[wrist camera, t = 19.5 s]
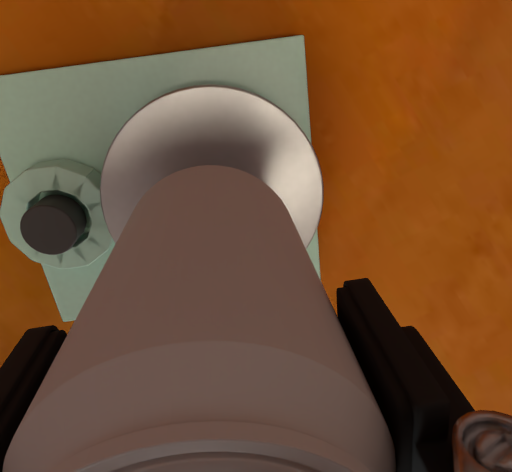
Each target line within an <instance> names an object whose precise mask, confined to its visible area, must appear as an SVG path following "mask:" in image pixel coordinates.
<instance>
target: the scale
mask: <svg viewBox="0 0 512 472" xmlns="http://www.w3.org/2000/svg"><path fill="white" fill-rule="evenodd" d="M204 84H217V85H228V86H233V87H237V88H242V89H245V90H248V91H250V92H253V93H256V94H258V95H260V96H262V97H264V98H266V99H268V100H269V101H271V102H272V103H274V104H275V105H277V106H278V107H279V108H281V109H282V110H283V111H285V112H286V113H287V114H288V115H289V116H290V117H291V118H292V119H293V120H294V121H295V122H296V123H297V124H298V126H299V127H300V128H301V129H302V130H303V132H304V133H305V134H306V136H307V138H308V140H309V141H310V143H311V131H310V116H309V102H308V87H307V72H306V58H305V43H304V35H297V36H290V37H283V38H275V39H268V40H260V41H253V42H245V43H238V44H231V45H223V46H216V47H208V48H201V49H193V50H186V51H179V52H171V53H164V54H156V55H149V56H141V57H134V58H127V59H119V60H112V61H104V62H97V63H89V64H82V65H75V66H67V67H60V68H52V69H45V70H37V71H30V72H23V73H15V74H8V75H0V157H1V159H2V162H3V165H4V167H5V170H6V173H7V175H8V178H9V180H10V184H9V185H7V186H6V187H5V189H4V193H3V198H2V203H1V208H0V218H1V220H2V223H3V225H4V228H5V230H6V233H7V235H8V238H9V240H10V241H11V243H13V244H14V245H15V246H16V247H17V248H18V249H19V250H21V251H22V252H23V253H24V254H25V255H26V256H28V257H29V258H30V259H31V260H33V261H35V262H38V263H41V265H42V267H43V270H44V273H45V275H46V278H47V281H48V283H49V286H50V289H51V291H52V294H53V296H54V299H55V302H56V304H57V307H58V310H59V312H60V315H61V318H62V320H63V322H67V321H73V320H76V318H77V316H78V314H79V312H80V310H81V308H82V306H83V305H84V303H85V301H86V299H87V297H88V295H89V293H90V291H91V290H92V288H93V286H94V284H95V282H96V280H97V278H98V276H99V274H100V273H101V271H102V269H103V267H104V265H105V263H106V261H107V259H108V258H109V256H110V254H111V252H112V250H113V248H114V246H115V242H114V240H113V238H112V236H111V234H110V233H109V230H108V228H107V225H106V222H105V220H104V216H103V211H102V207H101V197H100V182H101V173H102V168H103V164H104V160H105V157H106V155H107V152H108V149H109V147H110V145H111V143H112V142H113V140H114V138H115V136H116V134H117V133H118V132H119V130H120V129H121V128H122V126H123V125H124V124H125V122H127V121H128V120H129V119H130V118H131V117H132V116H133V115H134V114H135V113H136V112H137V111H138V110H139V109H141V108H142V107H144V106H145V105H146V104H148V103H149V102H150V101H152V100H154V99H156V98H158V97H160V96H161V95H163V94H165V93H168V92H171V91H174V90H176V89H179V88H184V87H188V86H193V85H204ZM54 194H57V195H64V196H67V197H70V198H72V199H73V200H75V201H76V202H77V203H78V204H79V205H80V206H81V207H82V209H83V210H84V212H85V215H86V221H87V222H86V228H85V230H84V232H83V233H82V235H81V236H80V237H79V239H78V240H77V241H76V243H75V244H74V245H73V247H72V248H71V249H69V250H68V251H66V252H64V253H62V254H57V255H48V254H43V253H40V252H38V251H36V250H34V249H33V248H31V247H30V246H29V245H28V244H27V243H26V242H25V240H24V239H23V237H22V234H21V231H20V222H21V218H22V216H23V215H24V213H25V212H26V211H27V210H28V209H30V208H31V207H32V206H33V205H34V204H36V203H37V202H38V201H39V200H41V199H42V198H44V197H46V196H48V195H54ZM306 250H307V252H308V255H309V257H310V259H311V261H312V263H313V265H314V268H315V270H316V272H317V274H318V276H319V278H320V281H321V277H320V262H319V248H318V233H317V229H316V232H315V234H314V236H313V239H312V240H311V242H310V244H309V245H308V247H307V249H306Z"/></svg>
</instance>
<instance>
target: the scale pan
mask: <svg viewBox="0 0 512 472" xmlns="http://www.w3.org/2000/svg"><path fill="white" fill-rule="evenodd" d="M204 165H218V166H226V167H231V168H235V169H239V170H241V171H244V172H247V173H249V174H251V175H253V176H255V177H256V178H258V179H260V180H261V181H263V182H264V183H265V184H267V185H268V186H269V187H270V188H271V189H273V191H274V192H275V193H276V194H277V195H278V196H279V197H280V198H281V200H282V201H283V203H284V204H285V206H286V208H287V209H288V211H289V213H290V216H291V218H292V220H293V222H294V224H295V226H296V229H297V231H298V233H299V235H300V237H301V239H302V242H303V244H304V246H305V248H306V249H307V247H308V245H309V244H310V242H311V240H312V239H313V236H314V234H315V232H316V229H317V227H318V224H319V220H320V217H321V213H322V206H323V179H322V172H321V168H320V165H319V161H318V158H317V156H316V153H315V151H314V149H313V146H312V145H311V143H310V141H309V140H308V138H307V136H306V134H305V133H304V132H303V130H302V129H301V128H300V127H299V126H298V124H297V123H296V122H295V121H294V120H293V119H292V118H291V117H290V116H289V115H288V114H287V113H286V112H285V111H283V110H282V109H281V108H279V107H278V106H277V105H275V104H274V103H272V102H271V101H269V100H268V99H266V98H264V97H262V96H260V95H258V94H256V93H253V92H250V91H248V90H245V89H242V88H237V87H233V86H228V85H217V84H204V85H193V86H188V87H184V88H179V89H176V90H174V91H171V92H168V93H165V94H163V95H161V96H160V97H158V98H156V99H154V100H152V101H150V102H149V103H148V104H146V105H145V106H144V107H142V108H141V109H139V110H138V111H137V112H136V113H135V114H134V115H133V116H132V117H131V118H130V119H129V120H128V121H127V122H125V124H124V125H123V126H122V128H121V129H120V130H119V132H118V133H117V134H116V136H115V138H114V140H113V142H112V143H111V145H110V147H109V149H108V152H107V155H106V157H105V160H104V164H103V168H102V173H101V182H100V197H101V207H102V211H103V216H104V220H105V222H106V225H107V228H108V230H109V233H110V234H111V236H112V238H113V240H114V242H115V244H116V242H117V241H118V239H119V237H120V235H121V233H122V231H123V229H124V227H125V226H126V224H127V222H128V220H129V218H130V216H131V214H132V212H133V210H134V209H135V207H136V205H137V203H138V202H139V201H140V199H141V198H142V197H143V195H144V194H145V193H146V192H147V191H148V190H149V189H150V188H151V187H152V186H154V185H155V184H156V183H157V182H159V181H160V180H162V179H163V178H165V177H167V176H168V175H170V174H173V173H175V172H177V171H180V170H183V169H186V168H190V167H195V166H204Z"/></svg>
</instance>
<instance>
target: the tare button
mask: <svg viewBox="0 0 512 472" xmlns="http://www.w3.org/2000/svg"><path fill="white" fill-rule="evenodd" d="M86 222H87V221H86V215H85V212H84V210H83V209H82V207H81V206H80V205H79V204H78V203H77V202H76V201H75V200H73V199H72V198H70V197H67V196H64V195H57V194H54V195H48V196H46V197H44V198H42V199H41V200H39V201H38V202H37V203H36V204H34V205H33V206H32V207H31V208H30V209H28V210H27V211H26V212H25V213H24V215H23V216H22V218H21V222H20V231H21V234H22V237H23V239H24V240H25V242H26V243H27V244H28V245H29V246H30V247H31V248H33V249H34V250H36V251H38V252H40V253H43V254H48V255H57V254H62V253H64V252H66V251H68V250H69V249H71V248H72V247H73V245H74V244H75V243H76V241H77V240H78V239H79V237H80V236H81V235H82V233H83V232H84V230H85V228H86Z"/></svg>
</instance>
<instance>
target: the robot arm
mask: <svg viewBox="0 0 512 472" xmlns="http://www.w3.org/2000/svg"><path fill="white" fill-rule="evenodd" d="M337 313H338V319H339V322H340V324H341V326H342V328H343V330H344V332H345V335H346V337H347V339H348V341H349V343H350V345H351V348H352V350H353V352H354V354H355V356H356V358H357V361H358V363H359V365H360V367H361V369H362V371H363V374H364V376H365V378H366V380H367V382H368V384H369V387H370V389H371V391H372V393H373V395H374V397H375V399H376V402H377V404H378V406H379V408H380V410H381V412H382V415H383V417H384V419H385V421H386V423H387V426H388V428H389V431H390V434H391V437H392V440H393V443H394V448H395V457H396V472H512V416H510V415H508V414H504V413H500V412H496V411H486V410H478V411H475V410H474V409H473V407H472V406H471V405H470V403H469V402H468V400H467V399H466V398H465V396H464V395H463V393H462V392H461V391H460V389H459V388H458V386H457V385H456V384H455V382H454V381H453V380H452V378H451V377H450V375H449V374H448V373H447V371H446V370H445V368H444V367H443V366H442V364H441V363H440V361H439V360H438V359H437V357H436V356H435V354H434V353H433V352H432V350H431V349H430V347H429V346H428V345H427V343H426V342H425V341H424V339H423V338H422V336H421V335H420V334H419V332H418V331H417V330H416V329H415V328H414V327H412V326H406V327H400V325H399V324H398V322H397V321H396V319H395V318H394V316H393V315H392V313H391V312H390V310H389V309H388V307H387V306H386V304H385V303H384V301H383V300H382V298H381V297H380V295H379V294H378V292H377V291H376V289H375V288H374V286H373V285H372V283H371V282H370V280H369V279H368V278H363V279H356V280H350V281H345V282H344V285H343V288H337ZM66 337H67V334H66V332H65V331H64V330H58V328H57V327H56V326H54V325H52V326H45V327H38V328H32V329H28V330H27V331H26V332H25V333H24V335H23V336H22V338H21V339H20V341H19V342H18V344H17V345H16V346H15V348H14V349H13V351H12V352H11V354H10V355H9V357H8V358H7V359H6V361H5V362H4V364H3V365H2V367H1V368H0V472H2V470H3V464H4V459H5V456H6V453H7V450H8V448H9V446H10V443H11V441H12V439H13V437H14V435H15V433H16V431H17V429H18V427H19V425H20V423H21V421H22V419H23V418H24V416H25V414H26V412H27V410H28V408H29V406H30V404H31V402H32V401H33V399H34V397H35V395H36V393H37V391H38V389H39V387H40V386H41V384H42V382H43V380H44V378H45V376H46V374H47V372H48V370H49V369H50V367H51V365H52V363H53V361H54V359H55V357H56V355H57V354H58V352H59V350H60V348H61V346H62V344H63V342H64V340H65V338H66Z"/></svg>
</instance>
